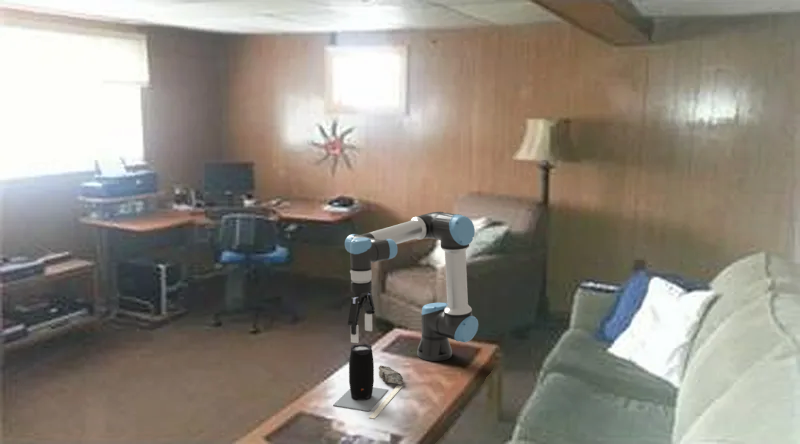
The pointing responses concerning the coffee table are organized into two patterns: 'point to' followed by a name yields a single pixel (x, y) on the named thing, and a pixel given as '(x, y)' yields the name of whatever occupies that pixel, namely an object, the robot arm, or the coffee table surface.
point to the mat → (361, 400)
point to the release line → (385, 402)
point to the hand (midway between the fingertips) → (361, 336)
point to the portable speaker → (361, 371)
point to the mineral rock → (390, 375)
